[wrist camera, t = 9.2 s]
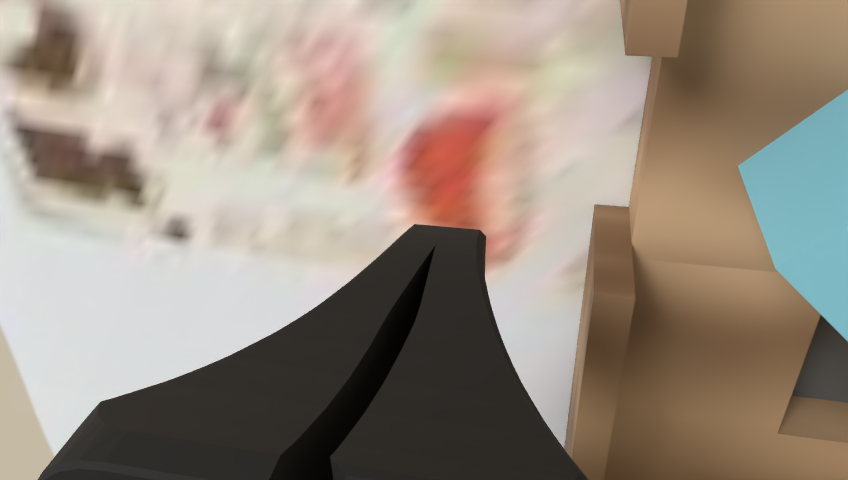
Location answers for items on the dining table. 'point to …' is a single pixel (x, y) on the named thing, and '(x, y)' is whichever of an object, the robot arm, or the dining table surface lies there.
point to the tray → (710, 262)
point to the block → (807, 207)
